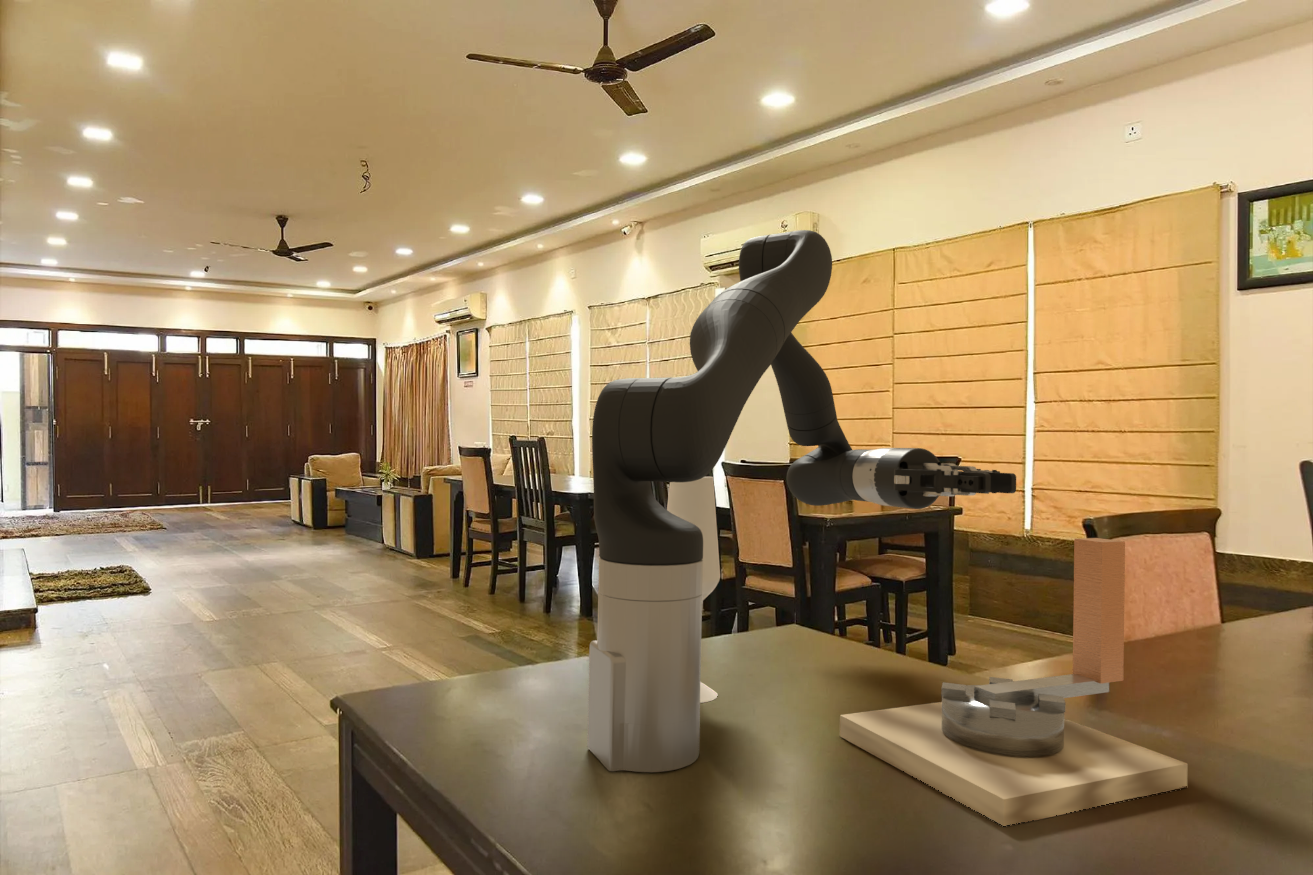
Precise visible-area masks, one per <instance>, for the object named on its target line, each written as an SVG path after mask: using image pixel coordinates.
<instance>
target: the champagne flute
mask: <svg viewBox="0 0 1313 875" xmlns="http://www.w3.org/2000/svg"><path fill="white" fill-rule="evenodd" d="M714 484H715V483H714V477H713V476H707V475H706V476H705V477H703V478H701V479H699V480H696V481H691V482H669V488H668V496H667V505H666V506H667V507H666V510H668V511H669V512H670V513H672V514H674V515H676V516H677V517H680V518H682V519H684V520H686V521H688V522H690V523H692V524H694V525H696V526H697V527H698V528H699V529H700V530H701V532H702V535H703V579H702V602H703V601H704V600H706V598H707V597H708V596H709V595H711V594H712V593H713V592H714V590H715V589H716V587H717V586H718V584H719V582H720V579H721V567H720V553H719V540H718V539H719V538H718V525H717V514H716V513H717V512H716V498H715V486H714ZM718 694H719V693H717V691H715V690H713V689H712V688H711V687H709V686H708V685H706V684H705V683H703V682H702V681H700V704H701V703H707V702H711V701H713V700H716V699H717V698H718V697H717V696H719V695H718Z"/></svg>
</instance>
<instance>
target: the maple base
mask: <svg viewBox="0 0 1313 875" xmlns="http://www.w3.org/2000/svg"><path fill="white" fill-rule="evenodd" d="M839 737H840V738H842V739H844V740H845V741H848V742H849V743H851V744H853V745H855V746H856V747H858V748H861V749H862V750H864V751H866V752H868V753H869V754H871V755H873V756H875V757H876V758H878V759H880V760H882V761H884V762H886V763H887V764H889V765H891V766H893V767H895V768H896V769H898V770H900V771H902V772H903V771H904V772H903V773H906V775H909V776H911V777H912V776H913V778H915V779H916V778H917V779H916V780H918V781H920V780H921V781H922V783H923V782H924V784H925V783H926V784H925V785H927V784H929V785H928V787H930V786H931V788H932V787H933V788H932V789H934V788H935V790H936V791H938V790H939V791H938V792H939V793H941V792H942V793H941V794H943V795H945V796H947V797H948V796H949V798H950V797H952V798H953V799H952V798H951V799H952V800H954V799H955V800H954V801H955V802H958V801H959V802H960V803H959V802H958V803H959V804H961V803H962V804H961V805H963V804H964V805H963V806H965V805H966V806H965V807H967V808H968V807H970V808H971V809H970V808H969V809H970V810H972V809H973V810H972V811H974V810H975V811H974V812H976V811H978V812H979V813H981V814H982V815H981V814H980V815H981V816H983V815H985V816H987V817H990V818H991V819H993V820H995V821H996V822H998V823H1000V824H1001V825H1003V826H1006V825H1009V824H1011V825H1010V826H1013V825H1012V824H1015V825H1018V823H1019V822H1020V824H1022V823H1021V822H1025V823H1028V821H1029V822H1033V821H1032V820H1034V821H1038V820H1043V819H1048V818H1052V817H1057V816H1061V815H1067V814H1071V813H1070V812H1072V813H1075V812H1074V811H1076V812H1080V811H1079V810H1081V811H1084V810H1083V809H1086V810H1090V809H1093V808H1092V807H1095V808H1098V807H1097V806H1100V807H1102V806H1101V805H1105V806H1107V805H1106V804H1109V803H1113V802H1114V804H1116V803H1115V802H1116V801H1122V800H1124V799H1129V798H1133V797H1137V796H1145V795H1147V794H1148V795H1149V794H1153V793H1156V792H1163V791H1166V790H1172V789H1175V788H1179V787H1182V786H1187V787H1188V767H1189V766H1188V764H1189V763H1187V762H1184V761H1182V760H1179V759H1176V758H1173V757H1171V756H1169V755H1166V754H1164V753H1163V754H1162V753H1160V752H1158V751H1155V750H1153V749H1149V748H1146V747H1144V746H1141V745H1139V744H1135V743H1132V742H1130V741H1127V740H1124V739H1122V738H1119V737H1116V736H1113V735H1111V734H1109V733H1105V732H1103V731H1100V730H1098V729H1095V728H1093V727H1089V726H1086V725H1084V724H1082V723H1081V724H1080V723H1078V722H1076V721H1073V720H1069V719H1067V718H1065V717H1064V747H1063V749H1062V750H1061V751H1059V752H1057V753H1054V754H1050V755H1044V756H1013V755H1004V754H998V753H992V752H987V751H983V750H979V749H975V748H972V747H969V746H966V745H963V744H961V743H959V742H956V741H954V740H952V739H951V738H949V737H948V736H947V735H945V734H944V733H943V731H942V701H939V702H931V703H923V704H922V703H921V704H915V705H914V704H913V705H909V706H899V707H891V708H884V709H877V710H869V711H861V712H854V713H846V714H840V715H839ZM921 781H920V782H921ZM1109 805H1110V804H1109ZM1089 808H1090V809H1089ZM979 813H978V814H979ZM1066 813H1067V814H1066ZM1056 815H1057V816H1056ZM985 816H984V817H985ZM1016 823H1017V824H1016ZM1001 825H1000V826H1001ZM1003 826H1002V827H1003ZM1006 827H1007V826H1006Z"/></svg>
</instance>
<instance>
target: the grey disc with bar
mask: <svg viewBox="0 0 1313 875" xmlns="http://www.w3.org/2000/svg"><path fill="white" fill-rule="evenodd" d="M1073 542H1074V545H1073V546H1074V547H1073V548H1074V549H1073V550H1074V552H1073V554H1074V556H1073V621H1072V622H1073V626H1072V632H1073V633H1072V635H1073V636H1072V674H1063V675H1062V674H1061V675H1055V676H1054V675H1053V676H1047V677H1046V676H1044V677H1039V678H1031V679H1022V680H1014V681H1013V679H1011V678H1004V677H994V676H989V680H988V681H989V682H988V684H970V685H969V684H967V685H966V684H961V683H953V682H944V681H943V682H942V685H941V691H940V692H941V694H940V695H941V702H942V731H943V733H944V734H945V735H947V736H948V737H949V738H951V739H952V740H954V741H956V742H959V743H961V744H963V745H966V746H969V747H972V748H975V749H979V750H983V751H987V752H992V753H998V754H1004V755H1013V756H1044V755H1050V754H1054V753H1057V752H1059V751H1061V750H1062V749H1063V747H1064V718H1065V713H1066V701H1065V699H1067V698H1074V697H1075V698H1076V697H1081V696H1082V697H1083V696H1089V695H1096V694H1097V695H1098V694H1104V693H1109V692H1110V683H1115V682H1122V681H1124V671H1125V670H1124V664H1125V662H1124V659H1125V657H1124V656H1125V651H1124V650H1125V645H1124V644H1125V583H1126V582H1125V581H1126V580H1125V579H1126V577H1125V576H1126V575H1125V574H1126V571H1125V570H1126V569H1125V568H1126V565H1125V564H1126V541H1124V540H1116V539H1107V538H1100V537H1087V538H1085V537H1084V538H1074V541H1073Z"/></svg>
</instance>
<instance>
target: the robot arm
mask: <svg viewBox="0 0 1313 875" xmlns="http://www.w3.org/2000/svg"><path fill="white" fill-rule="evenodd" d="M832 270H833V258H832V252H831V249H830V246H829V244H828V242H827V241H826V239H825V238H824V237H823V236H822V234H820V233H818V232H816V231H814V230H810V229H803V230H802V229H801V230H798V229H797V230H792V231H786V232H780V233H772V234H764V235H759V236H755V237H751V238H748V239H747V240H746V241H745V242H744V243H743V244H742V247H741V249H740V252H739V257H738V274H739V281H738V282H736V283H735V284H733V285H731V286H729V287H728V288H725V289H724V290H723V291H722V292H721V293H719V294H718V295H717V296H715V298H714V299H712V301H711V302H710V303H709V304H708V305H707V306H706V308H704V310H703V311H702V312H701V313H700V314H699V315H698V317H697V318H696V320H695V322H694V323H693V326H692V328H691V331H690V333H689V336H690V337H689V350H690V355H691V359H692V363H693V365H694V366H695V368H696V370H697V371H696V372H695V373H693V374H690V375H685V376H676V377H635V378H633V377H632V378H619V379H615V380H612V381H609V382H608V383H607V384H606V385H605V386H604V387H603V388H602V390H601V391H600V393H599V395H598V397H597V400H596V403H595V406H594V411H593V417H592V427H591V428H592V429H591V430H592V431H591V448H592V449H591V450H592V451H591V452H592V455H591V456H592V476H593V477H592V478H593V519H594V525H595V530H596V533H597V538H598V544H599V545H598V548H599V550H598V556H599V558H598V590H597V591H598V592H597V593H598V594H597V633H596V634H597V635H596V636H597V637H596V638H597V640H596V639H595V640H591V642H590V643H589V652H588V653H589V656H588V658H589V659H588V661H589V662H588V698H587V699H588V701H587V703H588V704H587V708H588V709H587V743H586V744H587V746H586V747H587V749H588V750H590V752H591V753H592V754H593V756H595V757H596V758H597V759H598V761H599V762H600V763H601V764H602V765H603V766H604V767H605V768H606V769H607V770H608V771H609V772H616V771H629V772H631V771H632V772H637V773H660V772H661V773H662V772H669V771H674V770H675V771H676V770H678V769H681V768H685V767H688V766H690V765H691V764H693V763H694V762H696V761H697V760H698V758H699V754H700V736H701V727H700V726H701V724H700V723H701V703H700V682H701V669H702V668H701V667H702V664H701V663H702V622H703V621H702V620H703V618H702V616H703V614H702V613H703V601H702V579H703V535H702V532H701V530H700V529H699V528H698V527H697V526H696V525H694V524H692V523H690V522H688V521H686V520H684V519H682V518H680V517H677V516H676V515H674V514H672V513H670V512H669V511H668V510H667V508H665V507H664V506H663V505H661V503H660V502H658V500H657V499H656V498H655V496H654V494H653V490H652V484H651V482H655V483H656V482H658V483H670V482H691V481H696V480H699V479H701V478H703V477H705V476H706V477H707V475H709V474H710V472H711V471H712V470H713V469H714V468H715V466H716V465H717V464H718V462H719V460H720V458H721V457H722V455H723V453H724V451H725V449H726V447H727V444H728V442H729V440H730V437H731V435H732V433H733V432H734V429H735V426H736V425H737V422H738V420H739V418H740V416H741V414H742V411H743V408H744V407H745V405H746V403H747V401H748V400H749V398H750V396H751V394H753V391H754V390H755V387H756V386H757V384H758V383H759V381H760V380H761V378H762V376H764V374H765V373H766V371H767V370H768V369H769V368H770V366H771V368H772V371H773V374H774V377H775V381H776V383H777V384H776V385H777V387H778V390H779V395H780V399H781V403H782V404H781V405H782V407H783V408H782V409H783V413H784V418H785V422H786V426H787V430H788V434H789V437H790V440H792V441H793V443H795V444H797V445H799V446H803V447H815V446H818V447H817V448H815V449H813V450H811V451H809V452H808V453H806V454H805V455H803V456H801V457H799V458H798V459H796V460H795V461H793V463H791V464H790V466H789V467H788V469H787V472H786V484H787V487H788V490H789V491H790V493H791V494H792V495H793V497H794V498H796V499H797V500H798V501H800V502H801V503H804V504H806V505H810V506H814V507H815V506H818V507H820V506H821V507H822V506H828V505H829V506H830V505H834V504H840V503H845V502H848V501H858V502H866V503H867V502H868V503H873V504H876V505H879V506H885V507H886V506H887V507H897V508H902V509H903V508H904V509H912V510H913V509H914V510H922V509H926V508H928V507H930V506H931V505H933V504H934V503H935V502H936V501H937V500H938V498H939V497H955V496H976V494H985V495H986V494H987V495H988V494H990V493H991V494H997V493H998V494H999V493H1000V494H1015V493H1016V492H1017V476H1016V474H1015V473H1012V472H1001V471H998V470H997V469H991V470H990V469H981V468H976V466H974V465H973V466H972V465H969V466H968V465H956V464H955V463H944V462H942V463H941V461H940V460H939V459H938V457H937V456H936V454H934V453H933V452H931V451H930V450H928V449H925V448H922V447H921V448H920V447H882V448H881V447H880V448H875V449H857V448H856V449H852V446H851V445H850V443H849V441H848V439H847V437H846V436H845V433H844V430H843V429H842V427H841V425H840V423H839V420H838V416H837V411H836V405H835V399H834V395H833V389H832V386H831V383H830V380H829V378H828V376H827V374H826V373H825V371H824V369H823V367H822V366H821V365H820V364H819V362H818V361H817V360H816V359H815V358H814V357H813V356H812V355H811V353H810V352H808V350H807V349H806V348H805V347H804V346H803V345H802V344H801V343H800V342H799V340H798V338H796V336H795V334H793V333H792V332H793V331H794V329H795V328H796V326H798V324H799V323H800V322H801V320H802V319H803V318H804V317H805V316H806V314H808V313H809V312H810V311H811V310H812V309H813V308H814V307H815V306H816V305H817V304H818V303H820V301H821V300H822V299H823V297H824V296H825V294H826V292H827V290H828V289H829V288H828V287H829V285H830V281H831V278H832V277H831V276H832V273H833V272H832Z"/></svg>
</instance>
